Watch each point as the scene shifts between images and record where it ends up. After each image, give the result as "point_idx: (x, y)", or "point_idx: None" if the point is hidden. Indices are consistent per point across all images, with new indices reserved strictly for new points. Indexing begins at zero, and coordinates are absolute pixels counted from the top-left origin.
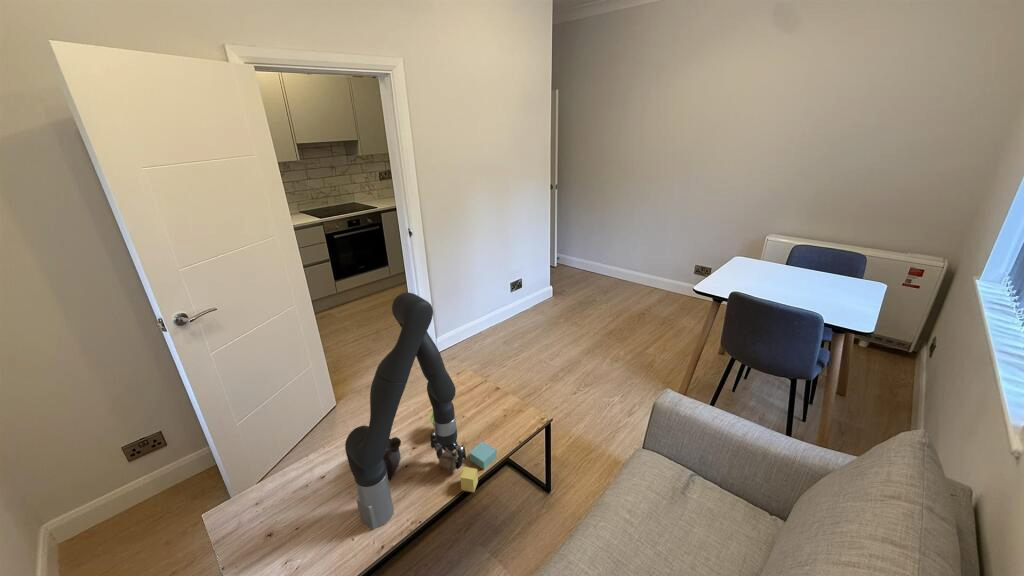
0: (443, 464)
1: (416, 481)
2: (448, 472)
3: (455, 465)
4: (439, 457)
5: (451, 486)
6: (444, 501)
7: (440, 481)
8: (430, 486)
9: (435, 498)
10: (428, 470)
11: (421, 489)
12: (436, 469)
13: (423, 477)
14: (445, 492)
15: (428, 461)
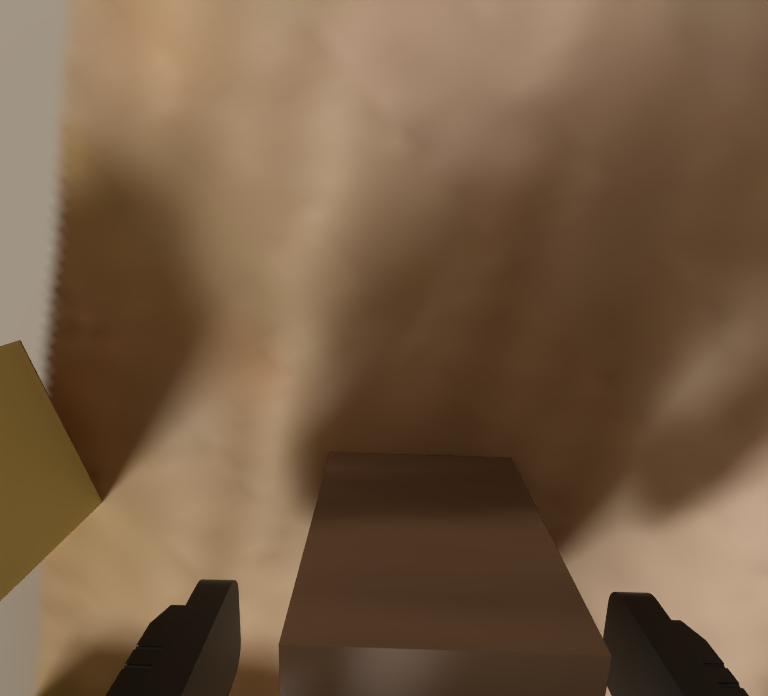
0: (447, 545)
1: (713, 101)
2: (346, 472)
3: (211, 632)
4: (590, 657)
5: (176, 317)
6: (67, 43)
7: (372, 303)
8: (445, 149)
9: (223, 6)
10: (659, 364)
11: (539, 18)
12: (560, 435)
13: (653, 225)
14: (173, 187)
15: (754, 484)
